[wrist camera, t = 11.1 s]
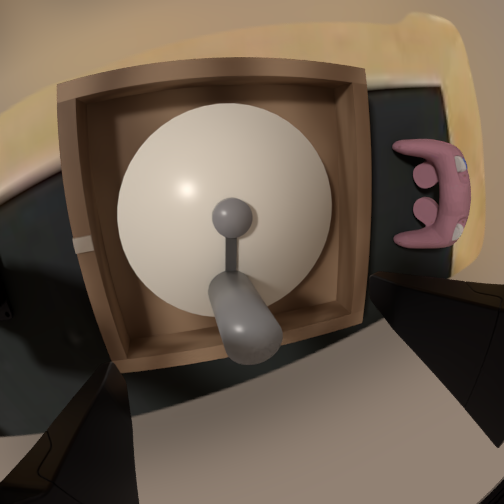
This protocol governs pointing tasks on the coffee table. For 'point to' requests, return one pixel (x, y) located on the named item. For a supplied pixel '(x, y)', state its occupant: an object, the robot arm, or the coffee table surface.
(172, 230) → the dial
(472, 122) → the coffee table surface
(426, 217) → the video game controller
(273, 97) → the dial frame
